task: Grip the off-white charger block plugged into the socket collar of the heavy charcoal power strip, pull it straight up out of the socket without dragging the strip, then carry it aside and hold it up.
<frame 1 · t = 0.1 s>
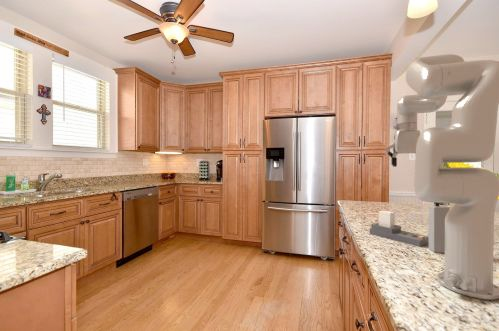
hand: (406, 166, 106), 31 cm above the countertop, tool pointing down, fingers open, 9 cm apart
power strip: (397, 239, 104), on the countertop, touching charger
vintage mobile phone: (438, 251, 88), on the countertop
charger: (386, 229, 108), point 2 cm above the countertop, touching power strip
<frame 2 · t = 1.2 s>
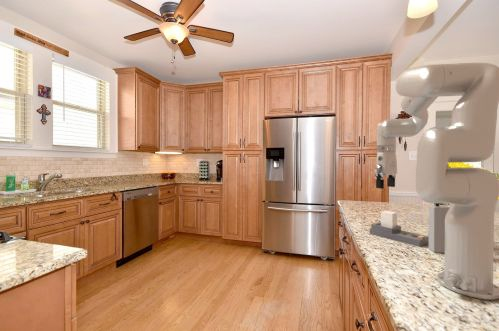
hand: (385, 187, 108), 22 cm above the countertop, tool pointing down, fingers open, 9 cm apart
nothing on the countertop moved.
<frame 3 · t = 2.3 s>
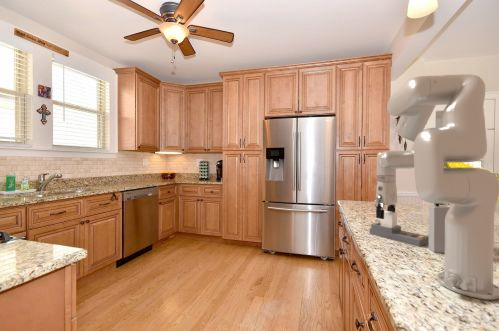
hand: (385, 216, 108), 8 cm above the countertop, tool pointing down, fingers open, 9 cm apart
nothing on the countertop moved.
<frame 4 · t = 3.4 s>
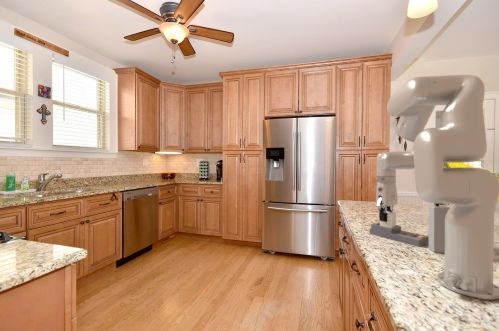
hand: (385, 220, 108), 7 cm above the countertop, tool pointing down, fingers closed on charger, 4 cm apart
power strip: (397, 239, 104), on the countertop
charger: (387, 230, 107), point 2 cm above the countertop, touching gripper
everything else where it was.
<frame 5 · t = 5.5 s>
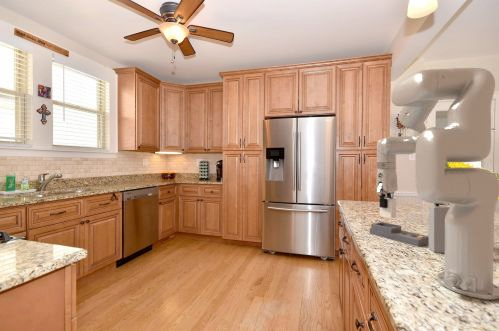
hand: (386, 206, 107), 13 cm above the countertop, tool pointing down, fingers closed on charger, 4 cm apart
charger: (387, 216, 107), point 9 cm above the countertop, touching gripper
everything else where it was.
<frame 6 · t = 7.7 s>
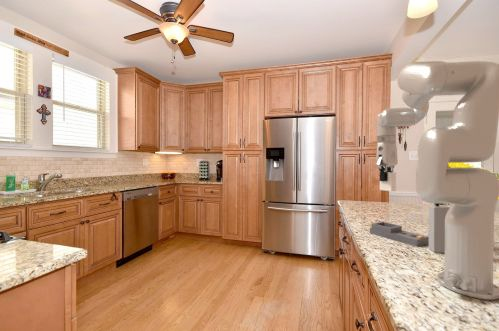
hand: (386, 180, 107), 25 cm above the countertop, tool pointing down, fingers closed on charger, 4 cm apart
charger: (387, 190, 107), point 20 cm above the countertop, touching gripper
everything else where it was.
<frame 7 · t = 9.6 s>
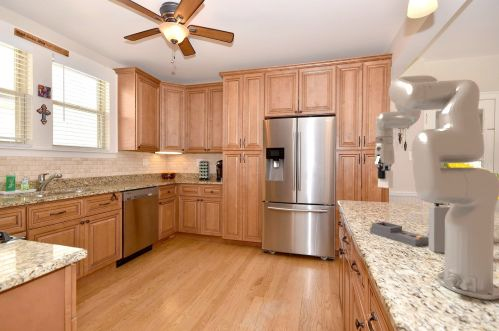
hand: (384, 178, 116), 25 cm above the countertop, tool pointing down, fingers closed on charger, 4 cm apart
charger: (385, 187, 115), point 21 cm above the countertop, touching gripper
everything else where it was.
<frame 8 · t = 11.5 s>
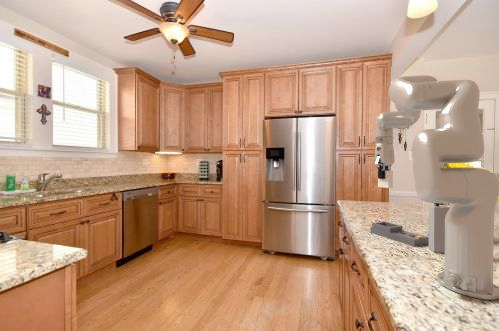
hand: (384, 178, 116), 25 cm above the countertop, tool pointing down, fingers closed on charger, 4 cm apart
charger: (385, 187, 115), point 21 cm above the countertop, touching gripper
at the end: the gripper is holding charger; charger point 20.9 cm above the countertop; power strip moved 0.8 cm from its start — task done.
